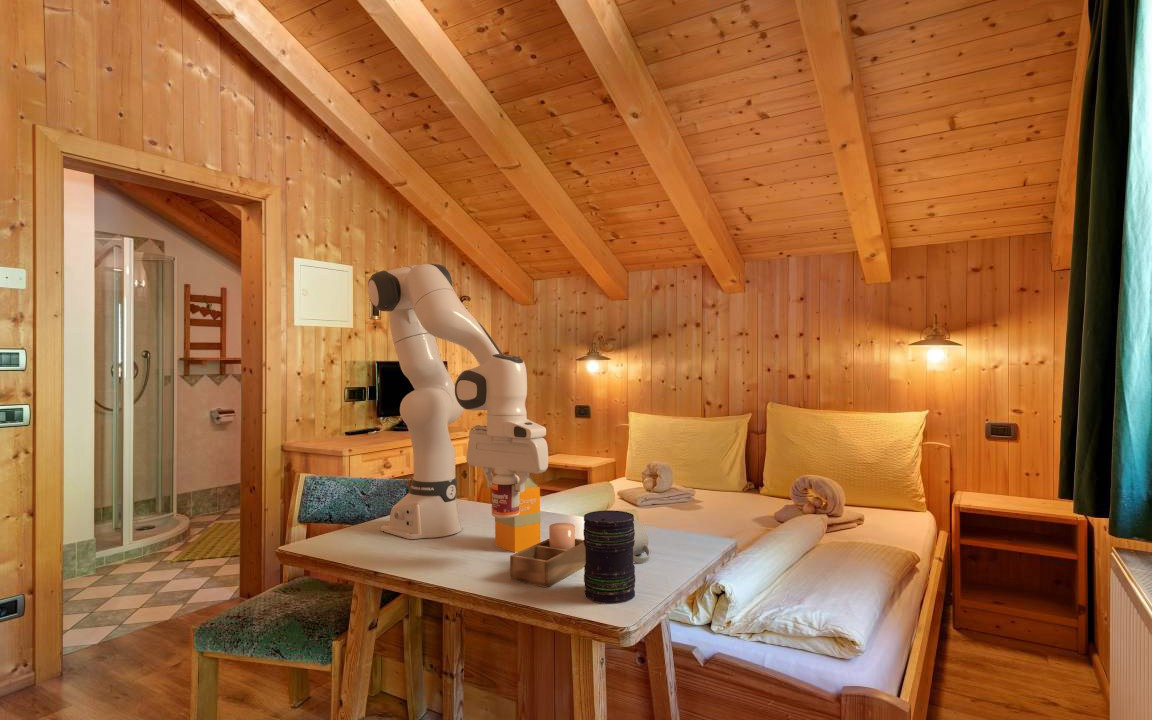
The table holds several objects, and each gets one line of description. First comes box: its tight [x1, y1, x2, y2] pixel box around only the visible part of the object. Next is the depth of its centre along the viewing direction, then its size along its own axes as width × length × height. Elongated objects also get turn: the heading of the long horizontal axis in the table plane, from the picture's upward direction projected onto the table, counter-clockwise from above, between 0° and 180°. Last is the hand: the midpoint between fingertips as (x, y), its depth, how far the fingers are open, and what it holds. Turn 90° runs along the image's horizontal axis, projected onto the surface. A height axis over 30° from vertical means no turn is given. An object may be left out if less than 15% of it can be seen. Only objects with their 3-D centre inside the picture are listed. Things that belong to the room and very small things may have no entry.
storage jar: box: [583, 509, 636, 605], centre depth 119 cm, size 10×10×15 cm
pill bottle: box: [491, 465, 520, 519], centre depth 138 cm, size 6×6×11 cm
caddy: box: [509, 538, 586, 588], centre depth 133 cm, size 9×18×5 cm, turn 150°
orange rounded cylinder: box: [548, 522, 576, 550], centre depth 137 cm, size 6×6×8 cm
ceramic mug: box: [633, 519, 651, 564], centre depth 142 cm, size 11×8×8 cm
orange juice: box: [494, 471, 541, 554], centre depth 153 cm, size 8×9×20 cm
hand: (505, 489), depth 138 cm, fingers closed on pill bottle, 6 cm apart
